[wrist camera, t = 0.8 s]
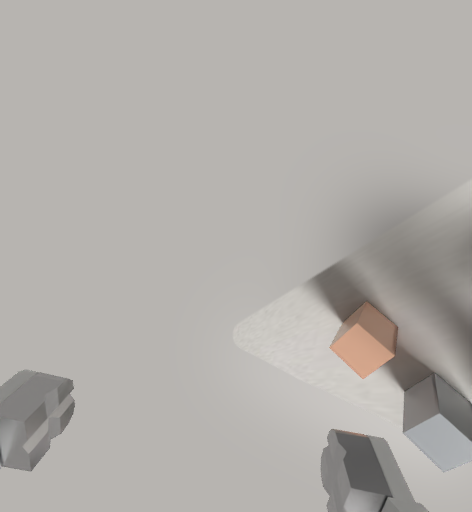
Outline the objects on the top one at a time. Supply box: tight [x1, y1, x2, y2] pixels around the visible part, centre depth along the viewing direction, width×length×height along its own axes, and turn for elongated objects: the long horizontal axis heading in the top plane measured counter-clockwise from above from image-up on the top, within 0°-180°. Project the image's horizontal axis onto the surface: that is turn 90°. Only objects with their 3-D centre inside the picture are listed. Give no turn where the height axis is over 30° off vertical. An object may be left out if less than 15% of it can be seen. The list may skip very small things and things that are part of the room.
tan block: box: [329, 301, 398, 379], centre depth 44 cm, size 6×6×10 cm
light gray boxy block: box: [403, 373, 472, 472], centre depth 41 cm, size 6×6×10 cm
